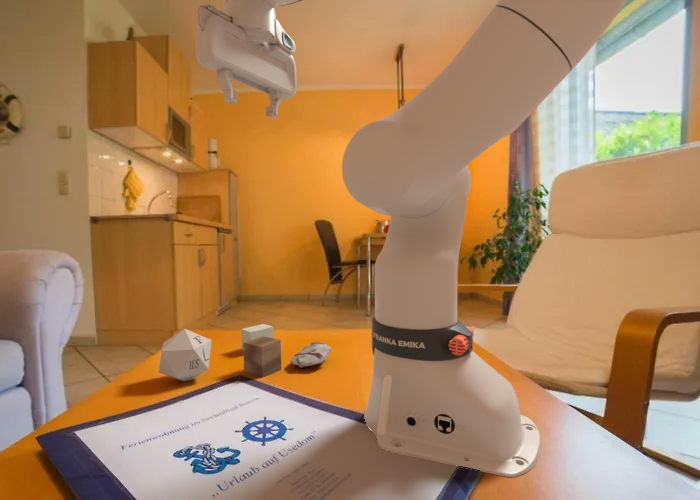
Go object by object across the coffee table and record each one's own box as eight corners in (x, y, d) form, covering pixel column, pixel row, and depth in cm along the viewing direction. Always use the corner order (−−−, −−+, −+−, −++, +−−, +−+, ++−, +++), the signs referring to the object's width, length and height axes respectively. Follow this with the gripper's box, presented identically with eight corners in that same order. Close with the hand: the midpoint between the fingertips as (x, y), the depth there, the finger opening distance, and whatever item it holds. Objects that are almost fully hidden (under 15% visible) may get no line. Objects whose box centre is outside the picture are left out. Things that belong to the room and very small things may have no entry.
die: (194, 395, 61) (191, 336, 60) (148, 391, 63) (145, 334, 62) (221, 375, 69) (220, 323, 69) (180, 372, 71) (178, 321, 70)
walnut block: (281, 369, 72) (280, 339, 71) (262, 378, 67) (261, 346, 67) (263, 364, 74) (262, 336, 74) (244, 373, 70) (243, 342, 70)
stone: (322, 372, 70) (321, 359, 69) (286, 370, 71) (285, 357, 71) (333, 352, 79) (333, 340, 79) (301, 351, 80) (301, 339, 80)
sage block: (273, 347, 85) (273, 326, 85) (251, 354, 81) (250, 332, 81) (264, 344, 88) (263, 323, 88) (241, 350, 84) (241, 329, 83)
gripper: (210, -10, 53) (213, 87, 54) (301, 48, 70) (303, 120, 71) (184, 5, 56) (188, 96, 57) (277, 56, 74) (279, 126, 74)
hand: (252, 110), depth 64 cm, fingers open, 8 cm apart
